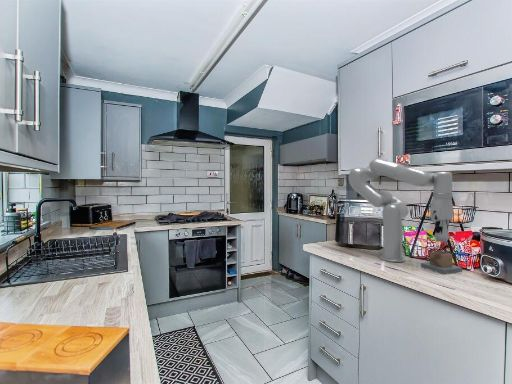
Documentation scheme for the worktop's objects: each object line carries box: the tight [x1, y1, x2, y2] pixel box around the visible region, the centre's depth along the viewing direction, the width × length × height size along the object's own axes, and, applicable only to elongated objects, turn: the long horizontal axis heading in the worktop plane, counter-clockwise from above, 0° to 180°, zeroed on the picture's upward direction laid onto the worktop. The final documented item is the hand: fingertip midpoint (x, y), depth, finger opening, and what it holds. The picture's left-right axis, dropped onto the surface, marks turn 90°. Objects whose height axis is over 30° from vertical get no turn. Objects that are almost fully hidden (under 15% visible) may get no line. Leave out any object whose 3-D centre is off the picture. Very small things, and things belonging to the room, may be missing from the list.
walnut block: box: [429, 251, 453, 268], centre depth 132 cm, size 6×6×6 cm
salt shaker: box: [434, 217, 450, 243], centre depth 131 cm, size 6×6×13 cm
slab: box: [420, 261, 463, 275], centre depth 132 cm, size 12×12×2 cm
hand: (441, 233), depth 132 cm, fingers closed on salt shaker, 3 cm apart
